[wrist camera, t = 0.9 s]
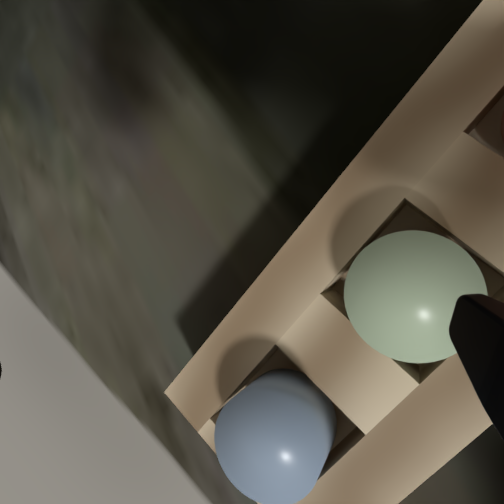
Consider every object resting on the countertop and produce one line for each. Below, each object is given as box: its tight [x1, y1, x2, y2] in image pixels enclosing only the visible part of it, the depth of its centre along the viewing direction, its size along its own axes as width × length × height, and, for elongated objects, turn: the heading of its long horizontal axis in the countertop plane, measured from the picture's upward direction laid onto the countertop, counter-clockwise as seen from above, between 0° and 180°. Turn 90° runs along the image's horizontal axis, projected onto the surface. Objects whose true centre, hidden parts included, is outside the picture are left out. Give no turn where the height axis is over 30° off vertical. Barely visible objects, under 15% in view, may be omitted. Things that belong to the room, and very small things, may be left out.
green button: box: [344, 230, 488, 363], centre depth 14 cm, size 4×4×3 cm
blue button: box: [214, 368, 337, 504], centre depth 16 cm, size 4×4×3 cm
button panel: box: [165, 0, 504, 504], centre depth 16 cm, size 10×23×4 cm, turn 139°
